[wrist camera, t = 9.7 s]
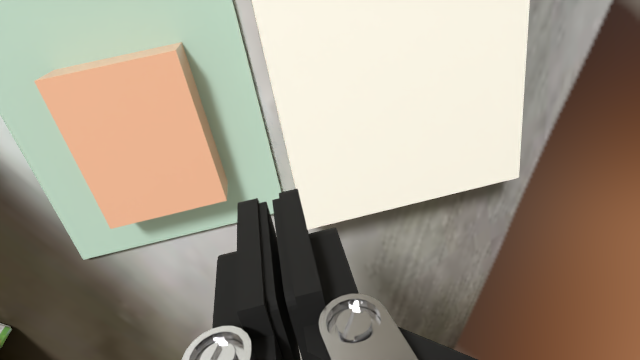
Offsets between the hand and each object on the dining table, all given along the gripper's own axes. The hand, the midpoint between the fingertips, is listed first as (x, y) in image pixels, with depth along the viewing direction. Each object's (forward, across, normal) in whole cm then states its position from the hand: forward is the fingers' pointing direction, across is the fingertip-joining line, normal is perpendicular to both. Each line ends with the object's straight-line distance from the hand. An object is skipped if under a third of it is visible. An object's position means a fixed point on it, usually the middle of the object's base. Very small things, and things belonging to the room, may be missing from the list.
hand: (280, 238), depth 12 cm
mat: (+16, +7, +1) cm, 17 cm away
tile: (+13, +7, +1) cm, 15 cm away
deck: (+16, -8, +1) cm, 18 cm away
